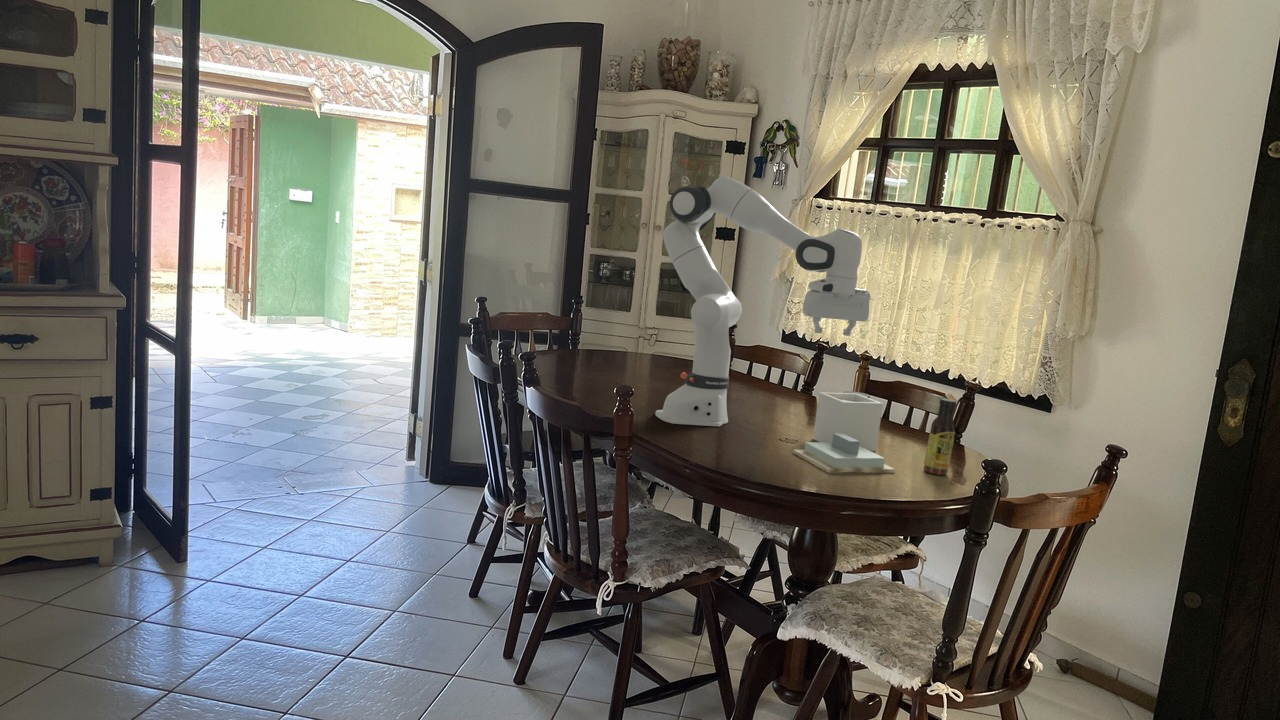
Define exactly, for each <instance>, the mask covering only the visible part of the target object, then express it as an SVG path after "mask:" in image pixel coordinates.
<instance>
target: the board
mask: <svg viewBox="0 0 1280 720" xmlns="http://www.w3.org/2000/svg"><path fill="white" fill-rule="evenodd" d="M804 450H805V449H793V451H792V454H794V455H795V454H796V455H795V456H797V455H798V456H797V457H799V458H801V459H802V458H803V459H802V460H804V459H805V460H804V461H806V460H807V461H806V462H808V461H809V462H810V464H811V463H812V465H813V464H814V465H813V466H815V467H816V468H818V467H819V468H818V469H820V468H821V469H820V470H822V469H823V470H822V471H824V470H825V471H826V473H827V472H828V473H827V474H842V473H841V472H861V473H860V474H863V473H862V472H865V473H864V474H895V472H896V469H895V468H893V467H892V466H890V465H887V464H885V463H884V468H834V467H832V466H830V465H829V464H827V463H825V462H823V461H821V460H819V459H818V458H816V457H814V456H812V455H810V454H808V453H807V452H805V451H804ZM809 462H808V463H809ZM825 471H824V472H825ZM839 472H840V473H839ZM866 472H868V473H866ZM869 472H870V473H869ZM871 472H872V473H871Z"/></svg>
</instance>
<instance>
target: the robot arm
mask: <svg viewBox="0 0 1280 720" xmlns="http://www.w3.org/2000/svg"><path fill="white" fill-rule="evenodd" d="M669 209H670V213H671V214H672V216H674V218H675V219H674V220H673V221H672V222H671V223H669V224H668V225H666V227H665V228H664V230H663V233H662V238H663V241H664V245H665V248H666V249H665V250H666V251H667V254H668V256H669V259H670V260H671V263H672V265H673V267H674V269H675V271H676V273H677V275H678V277H679V279H680V280H681V282H682V285H683V287H684V288H685V289H687V290H688V291H689V293H690V294H691V296H692V297H693V298H694V300H696V301H695V302H694V303H693V304H692V307H691V309H690V318H691V320H692V323H693V334H694V335H693V337H694V353H693V362H692V371H691V372H690V373H689V374H688V373H687V372H685V371H684V372H683V371H682V372H681V373H680V378H681V379H683V380H685V384H683V385H682V386H680V387H678V388H677V389H676V390H673V392H671V393H669V394H668V395H667V396H666V398H665V400H664V403H663V408H662V409H657V410H655V416H656V417H657V418H658V419H659V420H661V421H663V422H666V423H670V424H672V425H675V424H676V425H688V426H689V425H690V426H706V427H721V426H722V425H725V424H727V423H729V418H728V417H729V416H728V411H727V407H728V405H727V396H728V395H727V394H728V392H729V387H730V385H729V384H730V376H729V374H730V373H729V371H730V363H731V354H732V350H731V349H732V348H731V346H730V336H729V335H730V333H729V331H730V330H729V329H730V328H731V327H733V326H734V325H735V324H736V323H737V322H738V321H739V320H740V319H741V316H742V314H743V306H742V303H741V301H740V300H739V299H738V297H736V295H735V294H734V292H733V291H732V289H731V288H730V287H729V285H728V283H727V282H726V281H725V280H724V278H723V277H722V275H721V274H720V272H719V271H718V268H717V267H716V265H715V263H714V262H713V260H712V258H711V256H710V254H709V252H708V250H707V248H706V245H705V244H704V242H703V240H702V239H701V235H700V232H701V231H702V230H703V229H705V227H706V226H707V225H708V224H709V223H710V222H711V221H712V220H713V218H715V216H716V214H720V215H722V216H723V217H725V218H726V219H727V220H729V221H730V222H733V224H735V225H737V226H739V227H740V228H743V229H744V230H747V231H749V232H751V233H755V234H756V233H757V234H761V235H766V236H768V237H771V238H774V239H776V240H778V241H779V242H781V243H782V244H784V245H785V246H787V247H789V248H790V249H792V250H793V251H795V259H796V263H797V264H798V265H799V267H800V268H802V269H803V270H805V271H808V272H815V273H826V275H825V278H822V279H818V280H813V281H810V282H808V286H807V287H808V290H807V292H806V294H805V296H804V300H803V304H802V310H801V311H802V313H803V316H806V317H809V318H812V323H813V325H814V327H815V328H814V333H815V334H820V335H821V334H823V327H822V326H821V325H820V322H821V321H822V320H821V319H828V320H829V319H832V320H841V321H847V324H848V326H847V327H846V328H843V331H842V335H843V336H846V337H851V334H852V330H853V329H854V328H855V326H856V325H857V322H867V320H868V319H869V315H870V314H869V313H870V301H871V294H870V292H869V291H868V290H867V289H859V288H857V283H858V277H859V276H858V269H859V267H860V265H861V258H862V250H863V239H862V238H861V236H860V235H859V234H858V233H856V232H853V231H851V230H847V229H845V228H844V229H843V228H835V230H833V231H831V232H829V233H826V234H824V235H823V234H822V235H820V236H814V235H811V234H809V233H808V232H806V231H805V230H803V229H801V228H800V227H799V226H797V225H795V224H794V223H793V222H791V221H789V220H788V219H786V218H785V217H784V216H783V215H782V214H781V213H780V212H779V211H778V210H777V209H775V207H774V206H773V205H771V203H770V202H769V201H768V200H766V198H764V197H763V196H762V195H761V194H760V193H758V192H757V191H756V190H754V189H753V188H752V187H749V186H748V185H746V184H745V183H744V182H741V181H739V180H737V179H734V178H732V177H730V176H726V175H724V176H720V177H718V178H717V179H715V180H714V181H713V182H712V183H711V185H710V186H709V187H708V188H706V186H705V187H704V186H697V185H695V186H694V185H685V186H680V187H679V188H677V189H675V191H673V193H672V194H671V196H670V198H669Z"/></svg>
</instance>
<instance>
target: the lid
mask: <svg viewBox="0 0 1280 720" xmlns="http://www.w3.org/2000/svg"><path fill="white" fill-rule="evenodd" d="M859 443H860V441H858V440H856V439H853V438H851V437H849V436H847V435H845V434H842V433H833V439H832V443H828V442H819V441H815V442H813V441H811V442H810V441H807V442H805V444H804V449H803V450H804V451H805V452H807V453H808V454H810V455H812V456H814V457H816V458H818V459H819V460H821V461H823V462H825V463H827V464H829V465H830V466H832V467H834V468H884V464H885V462H886V457H883V456H882V455H879V454H878V453H875V452H874V451H869V450H867V449H865V448H863V447H861V446H859Z"/></svg>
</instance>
